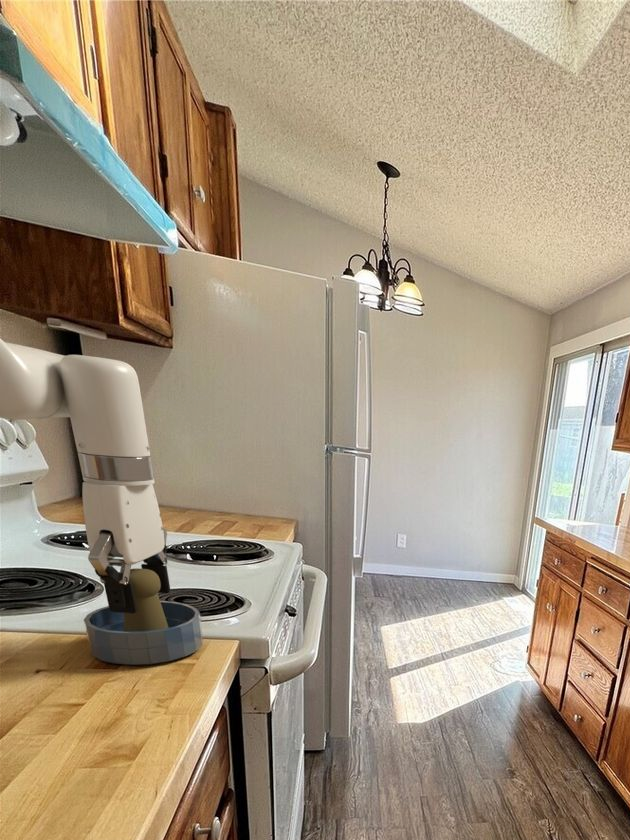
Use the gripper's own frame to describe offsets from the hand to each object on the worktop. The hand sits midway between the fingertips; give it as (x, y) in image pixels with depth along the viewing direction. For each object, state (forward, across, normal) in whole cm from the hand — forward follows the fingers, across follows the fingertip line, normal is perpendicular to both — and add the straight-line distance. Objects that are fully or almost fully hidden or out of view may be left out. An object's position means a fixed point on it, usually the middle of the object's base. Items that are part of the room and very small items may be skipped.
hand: (142, 601), depth 77 cm
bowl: (+7, 0, 0) cm, 7 cm away
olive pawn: (+7, 0, 0) cm, 7 cm away
